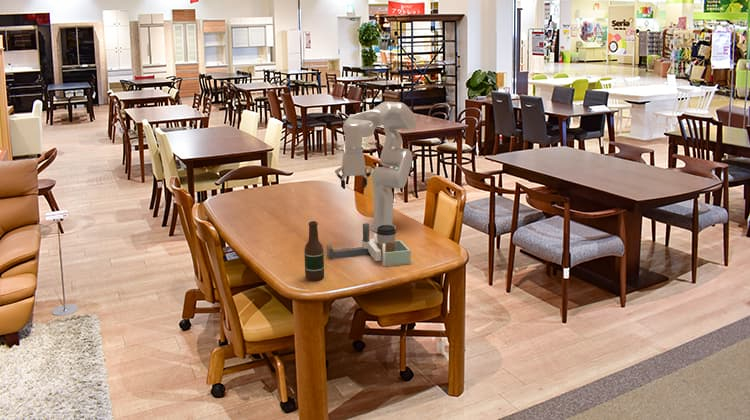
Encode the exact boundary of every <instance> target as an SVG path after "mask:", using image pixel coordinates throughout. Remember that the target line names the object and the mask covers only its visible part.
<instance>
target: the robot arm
mask: <svg viewBox="0 0 750 420" xmlns="http://www.w3.org/2000/svg"><path fill="white" fill-rule="evenodd" d="M416 124H417V118H416V115H415V114H414V112H413V111H412V110H411V108H409V106H408V105H406V104H405V103H403V102H401V101H398V102H396V101H383V102H381V103H380V104H378V105H376V106H375V107H373V108H371V109H370V110H367V111H366V110H365V111H363V112H358V113H355V114H352V115H351V116H349V117H347V118H346V119H345V120H344V123H343V126H342V130H343V132H344V153H342V161H341V166H340V167H338V168H337V169H335V170H334V173H335V176H336V177H337V178H339V180H340V187H341V188H342V189H343V190H346V180H345V179H346V178H347V177H357V176H362V187H363V188H365V189H366V188H367V186H368V178H369V177H370V176H371V183H372V187H373V188H372V189H373V224H372V225H371V226H370V230H371V231H372V232H375V233H377V229H378V227H379V226H382V225H391V226H394V227H395V230H396V231H397V226H396V225H395V224H394V194H393V191H392V189H403V188H404V187H405V186H406V184H407V181H408V177H409V176H410V175H409V174H410V171H411V168H412V163H413V154H412V151H411V150H410V149H408V148H402V145H403V139H402V136H401V134H400V132H399V130H403V131H404V130H405V131H410V130H413V129H414V128H415V127H416ZM381 126H382V127H383V129H384V134H385V138H384V142H383V147H382V149H381V153H380V160H379V162H380V164H381V165H382V166H378V167H375V168H372V167H370V166H369V165H366V161H365V156H364V152H363V151H366V147H363V139H362V138H368V137H369V138H370V137H371V136H372V135H373V134H374V132H375V128H377V127H381ZM366 170H368V171H367V172H366ZM340 172H342V173H341V175H340ZM391 188H392V189H391Z"/></svg>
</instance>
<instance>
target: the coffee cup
mask: <svg viewBox="0 0 750 420" xmlns="http://www.w3.org/2000/svg"><path fill="white" fill-rule="evenodd" d="M396 231H397V229H396V230H395V227H394V226H391V225H382V226H379V227H378V229H377V232H376V234H377V242H378V248H379V249H380V250H381V261H380V262H382V263H383V244H385V252H394V250H395V241H396V233H397V232H396Z"/></svg>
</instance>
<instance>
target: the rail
mask: <svg viewBox="0 0 750 420" xmlns="http://www.w3.org/2000/svg"><path fill="white" fill-rule="evenodd" d="M326 253H327V254H326V256H327V258H328V259H329V261H330V260H332V261H333V260H334V259H340V258H342V259H343V258H351V257H352V258H353V257H363V256H371V254H370V253H369V252H368V249H364V248H363V247H362V246H360V247H349V248H339V249H338V248H337V249H334V248H333V247H332V245H331V244H327V245H326Z"/></svg>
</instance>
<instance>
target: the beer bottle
mask: <svg viewBox="0 0 750 420" xmlns="http://www.w3.org/2000/svg"><path fill="white" fill-rule="evenodd" d="M318 224H319V223H318V222H317V221H314V220H313V221H309V222H308V241H307V243H306V244H305V246H304V250H303V251H304V254H303V255H304V273H305V274H304V276H305V279H306V280H307V281H310V282H318V281H321V280H322V279H324V278H325V255H324V247H323V245H322V243H321V241H320V239H319V232H318Z"/></svg>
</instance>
